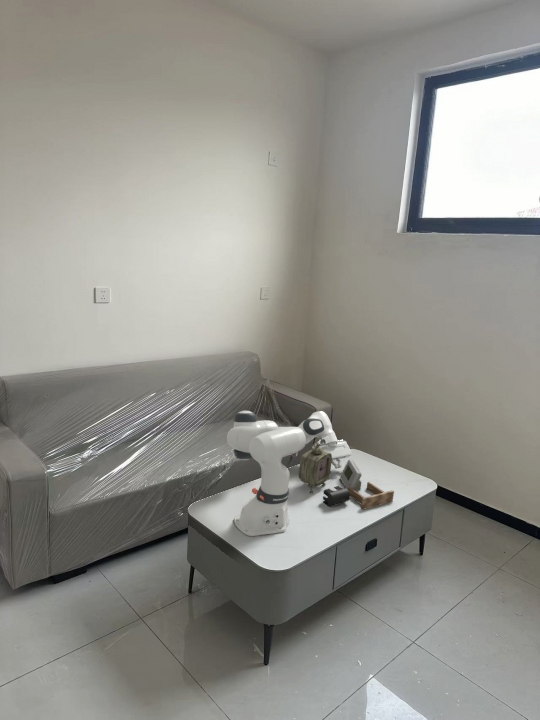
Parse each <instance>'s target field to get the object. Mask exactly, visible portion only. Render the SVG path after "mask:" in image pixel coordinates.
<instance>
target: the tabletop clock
mask: <svg viewBox="0 0 540 720" xmlns="http://www.w3.org/2000/svg"><path fill="white" fill-rule="evenodd" d="M319 439H321V443H322V438H318V437H316V439H315V440H314V443H313V445H314V448H312V449H310V450H307V451H306V452H305V453H303V454H302V455H301V456H300V460H299V468H298V478H299V480H300V482H302V483H304V484H307V487H310V490H309V493H310V494H311V495H312V494H314V490H313V487H314V488H317V487H319V486H323V487H325V486H326V482H327V481H328V479H329V477H330V475H331V469H332V463H331V462H332V455H331V453H328V452H325V451H323V450H322V449H321V448H320V447H319V446H320V445H321V443H320V444H317V446H315V443H317V442H318V441H319Z"/></svg>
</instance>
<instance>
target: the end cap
mask: <svg viewBox="0 0 540 720" xmlns="http://www.w3.org/2000/svg"><path fill="white" fill-rule="evenodd" d="M333 489H335V490H333ZM333 489H331V488H325V489H324V490H323V493H322V494H323V495H325V496H322V503H323V504H324V505H326V506H327V507H329V508H331V507H334V506H337V505H340V504H344V503H347V502H349V501H350V498H351V497H350V493H349V491H348V490H347V489H346V487H345V488H343V487H342V486H340V485H337V486H333Z"/></svg>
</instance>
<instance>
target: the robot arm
mask: <svg viewBox="0 0 540 720" xmlns="http://www.w3.org/2000/svg"><path fill="white" fill-rule="evenodd" d="M332 425H333V424H332V422H331V420H330V418H329V416H328V414H327V413H326V412H325V411H323V410H318V411H314V412H313V413H311V415H310V416H309V417H307V419H305V420H303V421H302V422H301V423H300V424H299V425H298V426H279V425H278V424H277V422H275V421H273V420H269V419H268V420H258V418H257V415H256V414H255V412H252V411H250V410H240V411H238V412H236V414H234V417H233V427H231V428H230V430H228V432H227V434H226V442H227V444H228V446H229V447H231V448H233V451H232V452H233V454H234V456H235V457H236V459H238V460H241V461H249V460H251V459H254V460H255V461H256V462H257V463H258V464H259V467H260V471H261V474H260V475H261V477H260V478H261V479H260V486H259V488H258V489H257V488H256V487H253V488H252V489H251V493H253V494H254V495H255V496H254V497H253V498H251V500H249V501H248V502H247V503H245V504H244V505H243V506H242V508H241V511H240V514H238V515H236V516H235V517H234V519H233V522H234V524H235V526H236V527H237V529H238V530H239V531H240V532H241V533H243V534H245V536H249V537H254V536H255V537H256V536H261V535H269V534H270V535H272V534H278V533H284V532H286V530H287V526H288V525H289V523H290V518H289V512H288V510H289V509H288V500H289V497H290V489H289V483H290V470H289V469H288V468H287V466H286V465H284V464H283V463H282V460H283V458H285V457H287V456H291V455H294V454H296V453H299V452H300V451H302V450H303V449H304V448H305V447H306V446H307V445H309V443H310V442H311V441H312V440H313V439H314V438H322V443H321V439H319V440H317V441H316V443H315V446H317V444H320V443H321V445H320V446H319V447H320V448H321V449H322V450H323V451H325V452H328V453H331V455H332V462H331V465H333V466H334V469H336V470H337V469H341V468H342V459H346V458H349V457H350V456H352V453H353V452H352V450H351V449H350V446H349V445H348V443H347V441H346V440H344V439H338V438H337V436H336V433H335V430H333V426H332ZM313 448H314V444H313V445H312V449H313Z"/></svg>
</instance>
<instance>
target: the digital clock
mask: <svg viewBox="0 0 540 720" xmlns="http://www.w3.org/2000/svg"><path fill="white" fill-rule="evenodd" d="M361 477H362V473H361V471H360V469H359V468H358V466H357V465H356V463H355V462H354V461H353V459H351V458H350V459H348V460H347V462H346V464H345V466H344V467H343V470H342V472H341V473H340V475H339V478H340V480H341V482H342V484H343V485H344V487H345V488H346V489H347V488H348V487H351V488H352V489H354V490H355V491H361V489H362V488H361V487H362V480H361Z"/></svg>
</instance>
